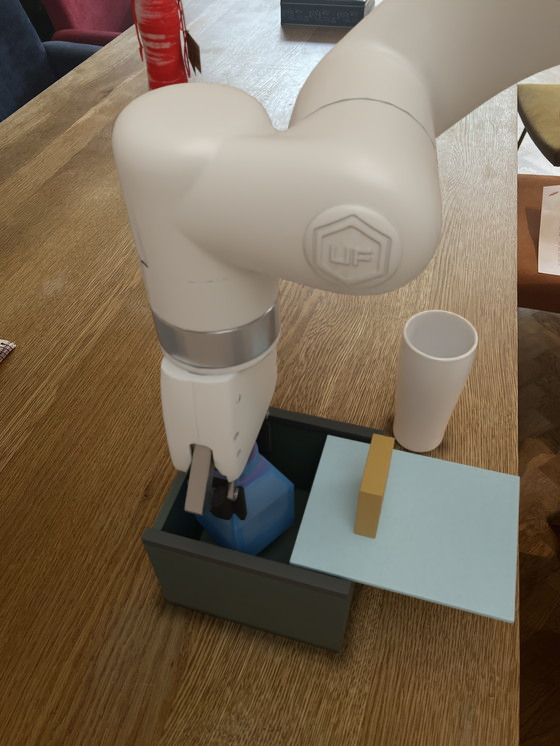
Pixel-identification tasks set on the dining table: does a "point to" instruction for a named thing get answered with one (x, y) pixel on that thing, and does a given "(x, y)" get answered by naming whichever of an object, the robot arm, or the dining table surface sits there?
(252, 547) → the perfume bottle
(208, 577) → the display box
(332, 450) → the box lid
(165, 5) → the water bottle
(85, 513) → the dining table surface
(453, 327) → the drinking glass
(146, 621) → the dining table surface
